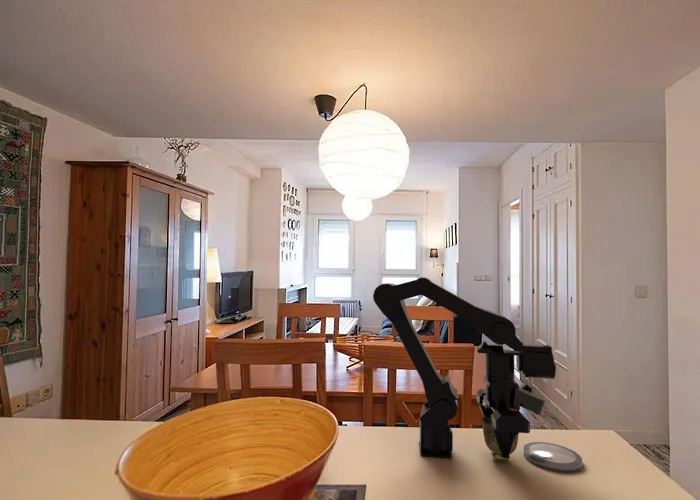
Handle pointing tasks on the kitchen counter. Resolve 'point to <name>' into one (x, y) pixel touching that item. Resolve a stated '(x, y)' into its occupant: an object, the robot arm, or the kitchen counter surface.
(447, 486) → the kitchen counter surface
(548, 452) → the gray-rimmed plate
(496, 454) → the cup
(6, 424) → the kitchen counter surface
